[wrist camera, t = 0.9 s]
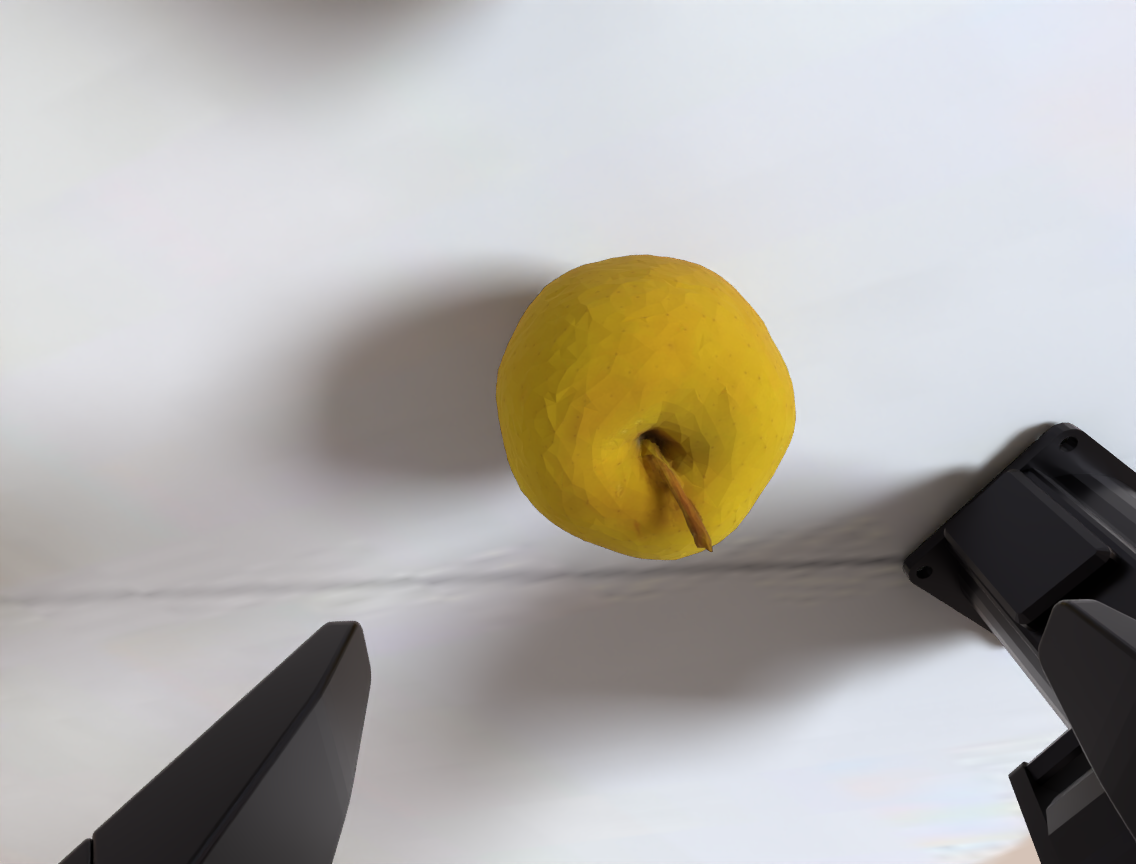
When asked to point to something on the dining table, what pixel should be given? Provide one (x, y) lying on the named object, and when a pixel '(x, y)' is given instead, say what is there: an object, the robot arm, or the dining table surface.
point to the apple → (644, 405)
